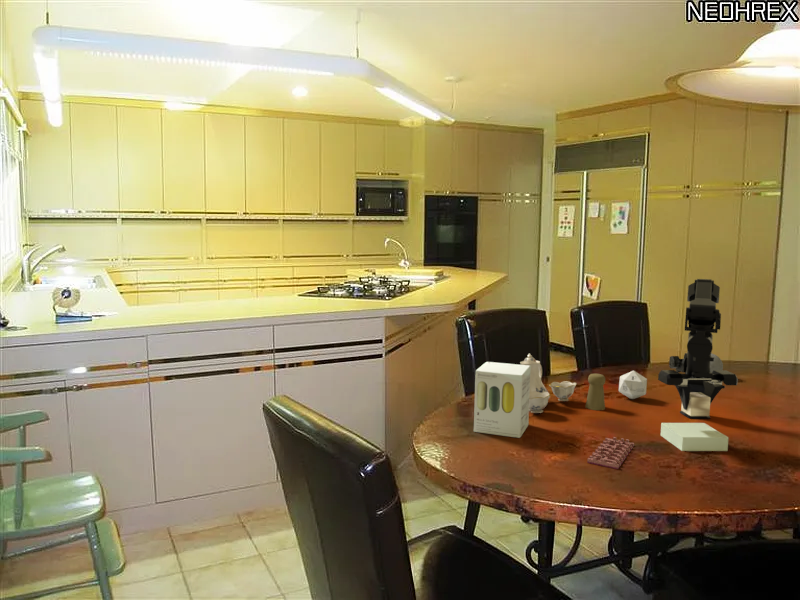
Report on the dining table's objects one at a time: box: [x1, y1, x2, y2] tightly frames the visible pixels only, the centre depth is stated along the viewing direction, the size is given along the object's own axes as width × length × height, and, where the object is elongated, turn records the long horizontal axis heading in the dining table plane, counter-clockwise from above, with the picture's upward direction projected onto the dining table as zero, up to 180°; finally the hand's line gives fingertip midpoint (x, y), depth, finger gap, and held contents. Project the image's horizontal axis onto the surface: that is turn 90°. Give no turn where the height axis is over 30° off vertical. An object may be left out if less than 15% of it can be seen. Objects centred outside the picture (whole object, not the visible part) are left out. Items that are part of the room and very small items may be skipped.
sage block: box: [660, 422, 729, 452], centre depth 166 cm, size 12×12×4 cm
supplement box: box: [473, 361, 531, 439], centre depth 175 cm, size 13×13×18 cm
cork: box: [584, 373, 606, 411], centre depth 197 cm, size 6×6×11 cm
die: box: [618, 370, 648, 400], centre depth 208 cm, size 8×9×10 cm
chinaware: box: [519, 353, 577, 414], centre depth 198 cm, size 28×17×17 cm, turn 144°
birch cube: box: [680, 392, 711, 417], centre depth 165 cm, size 5×5×5 cm
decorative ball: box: [710, 352, 724, 373], centre depth 239 cm, size 10×10×10 cm
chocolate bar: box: [586, 436, 635, 470], centre depth 158 cm, size 7×19×2 cm, turn 148°
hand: (695, 409), depth 166 cm, fingers closed on birch cube, 5 cm apart
